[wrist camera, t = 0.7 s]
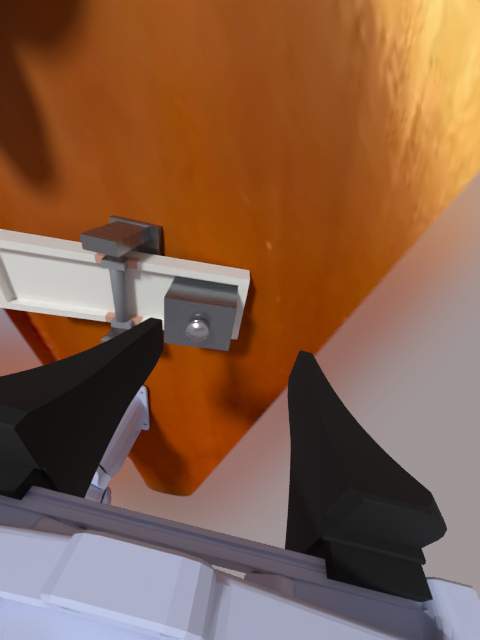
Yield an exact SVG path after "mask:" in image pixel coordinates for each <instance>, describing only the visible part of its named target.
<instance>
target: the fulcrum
mask: <svg viewBox="0 0 480 640" xmlns="http://www.w3.org/2000/svg"><path fill="white" fill-rule="evenodd" d="M109 219H110V224H107V225H104V226H101V227H99V228H96V229H93V230H90V231H87V232H84V233H81V234H80V238H81V243H82V248H83V250H88V251H92V252H97V253H101V254H105V255H110V256H114V257H120V256H121V255H123V254H125V253H127V252H128V251H135V252H141V253H147V254H153V255H159V256H162V226H158V225H154V224H149V223H145V222H140V221H136V220H132V219H127V218H123V217H118V216H110V217H109ZM133 327H134V326H133ZM118 335H120V333H118V329H117V328H115V327H114V328H113V329H112V330H111V331H110V332H109V333H108V334H107V335H106V336H105V337H104V338H103V339H102V340H101V343H104V342H106V341H108V340H110V339H112V338H114V337H116V336H118Z"/></svg>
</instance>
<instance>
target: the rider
mask: <svg viewBox="0 0 480 640" xmlns="http://www.w3.org/2000/svg"><path fill="white" fill-rule="evenodd" d="M236 311H237V286H235V285H228V284H222V283H216V282H209V281H203V280H197V279H190V278H184V277H178V276H175V278H174V280H173V282H172V284H171V285H170V287H169V289H168V291H167V293H166V295H165V297H164V343H171V344H178V345H186V346H194V347H201V348H209V349H217V350H224V351H229V346H230V341H231V336H232V331H233V326H234V321H235V316H236Z"/></svg>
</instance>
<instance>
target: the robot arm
mask: <svg viewBox="0 0 480 640" xmlns="http://www.w3.org/2000/svg"><path fill="white" fill-rule="evenodd" d="M162 351H163V324H162V320H161V319H157V318H152V317H151V318H149V319H147V320H145V321H143V322H141V323H139V324H138V325H136V326H134V327H132V328H131V329H129V330H127V331H125V332H123V333H121V334H120V335H118V336H116V337H114V338H112V339H110V340H108V341H106V342H104V343H101V344H99V345H97V346H95V347H93V348H91V349H88V350H86V351H83V352H81V353H78V354H76V355H73V356H71V357H68V358H65V359H62V360H59V361H56V362H53V363H50V364H47V365H44V366H40V367H37V368H33V369H30V370H26V371H22V372H18V373H14V374H10V375H6V376H1V377H0V640H480V599H479V597H478V594H477V592H476V590H475V589H474V588H473V587H472V586H469V585H465V584H461V583H457V582H453V581H449V580H445V579H441V578H436V577H425V574H424V571H423V568H422V565H424V564H425V562H426V560H425V557H424V554H423V552H422V549H421V548H423V547H425V546H427V545H429V544H431V543H433V542H435V541H437V540H439V539H440V538H442V537H443V536H444V534H445V532H446V530H447V527H446V524H445V522H444V519H443V517H442V515H441V513H440V510H439V508H438V506H437V504H436V502H435V500H434V497H433V496H432V494H431V492H430V491H429V490H428V489H426V488H425V487H424V486H423V485H422V484H420V483H419V482H418V481H417V480H416V479H415V478H413V477H412V476H411V475H410V474H409V473H408V472H406V471H405V470H404V469H403V468H402V467H401V466H400V465H399V464H398V463H397V462H396V461H394V460H393V459H392V458H391V457H390V456H389V455H388V454H387V453H386V452H385V451H384V450H383V449H382V448H381V447H380V446H379V445H378V444H377V443H376V442H375V441H374V440H373V439H372V438H371V436H370V435H369V434H368V433H367V432H366V431H365V430H364V429H363V428H362V427H361V425H360V424H359V423H358V422H357V421H356V419H355V418H354V417H353V416H352V415H351V413H350V412H349V411H348V410H347V408H346V407H345V406H344V404H343V403H342V401H341V400H340V399H339V397H338V396H337V394H336V393H335V391H334V390H333V388H332V387H331V385H330V383H329V382H328V380H327V379H326V377H325V375H324V373H323V372H322V370H321V368H320V366H319V365H318V363H317V361H316V359H315V358H314V356H313V354H312V353H309V352H305V351H299V354H298V356H297V359H296V361H295V364H294V366H293V369H292V371H291V374H290V376H289V382H288V409H289V422H290V437H291V460H290V485H289V502H288V503H289V504H288V519H287V531H286V543H285V549H282V548H278V547H274V546H270V545H266V544H262V543H259V542H254V541H251V540H247V539H243V538H238V537H235V536H231V535H226V534H223V533H219V532H215V531H211V530H207V529H203V528H199V527H195V526H191V525H187V524H183V523H179V522H175V521H172V520H167V519H164V518H159V517H156V516H152V515H148V514H143V513H140V512H136V511H131V510H128V509H124V508H120V507H116V506H112V505H110V503H111V489H110V488H109V487H108V486H107V485H108V484H109V482H110V480H111V478H112V477H114V476H115V474H117V472H118V471H119V470H120V469H121V467H122V465H123V463H124V461H125V459H126V458H127V456H128V454H129V452H130V450H131V448H132V446H133V444H134V442H135V441H136V439H137V437H138V435H139V433H140V431H141V429H143V430H149V428H150V424H149V409H148V394H147V388H146V387H145V386H142V385H143V384H144V382H145V381H146V379H147V378H148V376H149V375H150V373H151V372H152V370H153V369H154V367H155V365H156V363H157V361H158V359H159V357H160V355H161V353H162ZM211 564H212V565H216V566H220V567H223V568H227V569H231V570H236V571H239V572H243V573H247V574H246V575H245V578H244V579H242V578H239V577H236V576H233V575H231V574H228V573H225V572H222V571H220V570H217V569H214V568H213V567H212V565H211ZM421 564H422V565H421Z"/></svg>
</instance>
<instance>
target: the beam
mask: <svg viewBox="0 0 480 640" xmlns="http://www.w3.org/2000/svg"><path fill="white" fill-rule="evenodd" d="M175 276H178V277H184V278H190V279H197V280H203V281H209V282H216V283H222V284H228V285H235V286H237V311H236V316H235V321H234V326H233V331H232V336H231V339H236V340H237V338H238V333H239V329H240V324H241V320H242V315H243V310H244V306H245V301H246V297H247V292H248V287H249V283H250V273H249V270H244V269H238V268H232V267H226V266H220V265H214V264H208V263H202V262H196V261H190V260H183V259H177V258H171V257H165V256H159V255H153V254H147V253H141V252H135V251H128V252H127V253H125V254H123V255H121V256H120V257H114V256H110V255H105V254H101V253H97V252H92V251H88V250H83V248H82V243H81V242H75V241H69V240H63V239H57V238H51V237H45V236H39V235H33V234H27V233H20V232H14V231H8V230H2V229H0V307H1V308H8V309H15V310H23V311H30V312H37V313H45V314H52V315H59V316H67V317H74V318H81V319H89V320H96V321H104V322H111V327H115V328H117V329H118V333H120V334H121V333H123V332H125V331H127V330H129V329H131V328H132V327H133V326H136V325H138V324H139V323H141V322H143V321H145V320H147V319H149V318H151V317H152V318H157V319H161V320H162V324H163V330H164V297H165V295H166V293H167V291H168V289H169V287H170V285H171V284H172V282H173V280H174V278H175Z"/></svg>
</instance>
